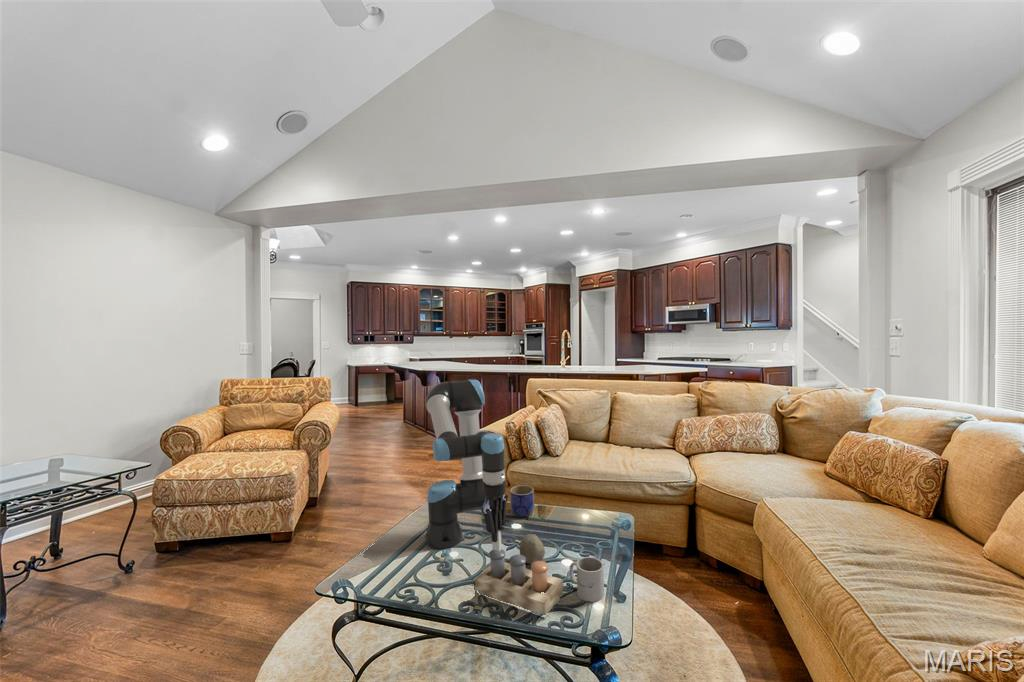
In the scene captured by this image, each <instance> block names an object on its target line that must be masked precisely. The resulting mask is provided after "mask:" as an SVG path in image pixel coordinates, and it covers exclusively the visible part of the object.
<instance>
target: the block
mask: <svg viewBox="0 0 1024 682" xmlns="http://www.w3.org/2000/svg"><path fill="white" fill-rule="evenodd" d="M525 572H526V581H525V582H524V583H525V584H524V583H522V584H515V583H513V582H512V581H511V564H510V562H506V561H505V574H504V575H503V576H501V577H494V576H492V575H491V564H490V565H488V566H487V567H486V568H485V569H484V570H483V571H482V572H481V573H479V575H477V576H476V577H475V578H474V586H475V587H474V588H475V594H476V595H478V594H477V590H480V591H481V593H483V594H484V595H486V596H488V597H491V598H494V599H497V600H499V601H503V602H506V603H510V604H513V605H516V606H519V607H522V608H524V609H527V610H530V611H535V612H539V613H542V614H544V615H546V614H547V613H548V612H549V611H550V610H551V608H552V607H553V606H554V605H555V604H556V603H557V604H558V603H559V601H560V600H561V598H562V597H563V596H562V595H564V580H563V579H561V578H558V577H554V576H551V575H549V574H547V585H548V587H547V589H546V590H544V591H536V590H534V589H533V585H532V570H531V569H529V568H526V567H525ZM541 592H544V593H545V594H544V595H543V594H541ZM561 596H562V597H561ZM560 597H561V598H560ZM557 604H556V605H557ZM556 605H555V606H556ZM555 606H554V607H555Z"/></svg>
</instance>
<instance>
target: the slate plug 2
mask: <svg viewBox="0 0 1024 682" xmlns="http://www.w3.org/2000/svg"><path fill="white" fill-rule="evenodd" d="M509 563H510V564H511V581H512V582H513V583H515V584H522V583H524V582H525V581H526V572H525V568H526V564H527V563H526V558H525V556H523V555H520V554H514V555H511V556H510V557H509Z"/></svg>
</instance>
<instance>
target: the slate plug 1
mask: <svg viewBox="0 0 1024 682" xmlns="http://www.w3.org/2000/svg"><path fill="white" fill-rule="evenodd" d="M488 553H489V555H488V557H489V558H490V565H491V575H492V576H494V577H501V576H503V575H504V574H505V562H506V561H505V557H506V551H505V550H503V548H502V549H501V550H500V551H497V550H494V549H493V548H492V550H490V551H489V552H488Z"/></svg>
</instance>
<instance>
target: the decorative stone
mask: <svg viewBox="0 0 1024 682" xmlns="http://www.w3.org/2000/svg"><path fill="white" fill-rule="evenodd" d="M545 554H546V551H545V545H544V543H543V542H542V541H541V539H540V538H539V536H537V535H536V534H535V533H533V534H532V533H529V534H526V535H525V536H524V537H522V538H521V541H520V543H519V555H523V556H525V558H526V563H525V564H530V565H531V564H532V563H533V562H535V561H543V559H544V557H545Z"/></svg>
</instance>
